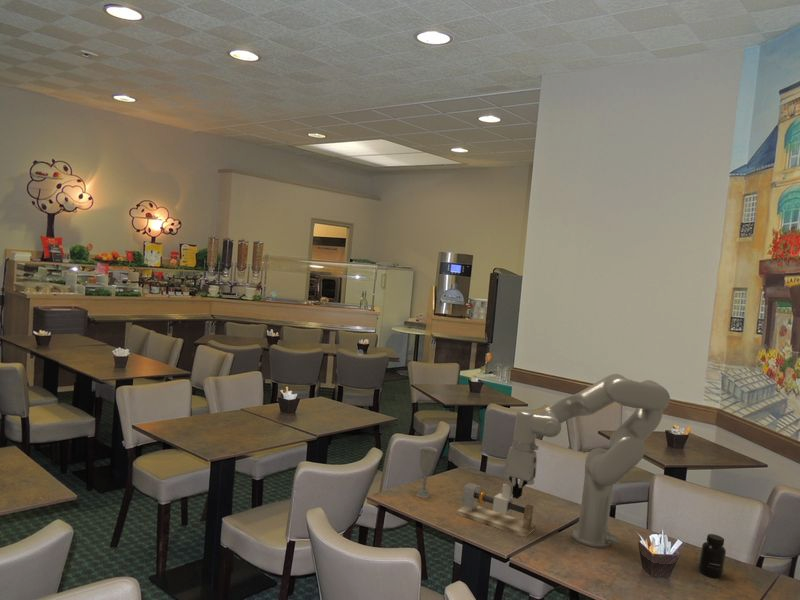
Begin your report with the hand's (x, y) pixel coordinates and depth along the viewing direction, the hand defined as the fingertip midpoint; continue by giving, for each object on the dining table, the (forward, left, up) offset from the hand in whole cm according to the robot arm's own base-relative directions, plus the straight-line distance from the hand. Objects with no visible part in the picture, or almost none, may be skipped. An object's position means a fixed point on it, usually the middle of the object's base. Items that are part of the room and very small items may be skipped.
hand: (516, 497), depth 221 cm
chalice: (+38, -2, -11) cm, 39 cm away
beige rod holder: (+7, 0, -11) cm, 13 cm away
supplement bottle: (-61, -15, -11) cm, 64 cm away
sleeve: (+5, 0, -6) cm, 8 cm away
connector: (+16, 0, -9) cm, 18 cm away
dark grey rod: (+7, 0, -5) cm, 8 cm away
